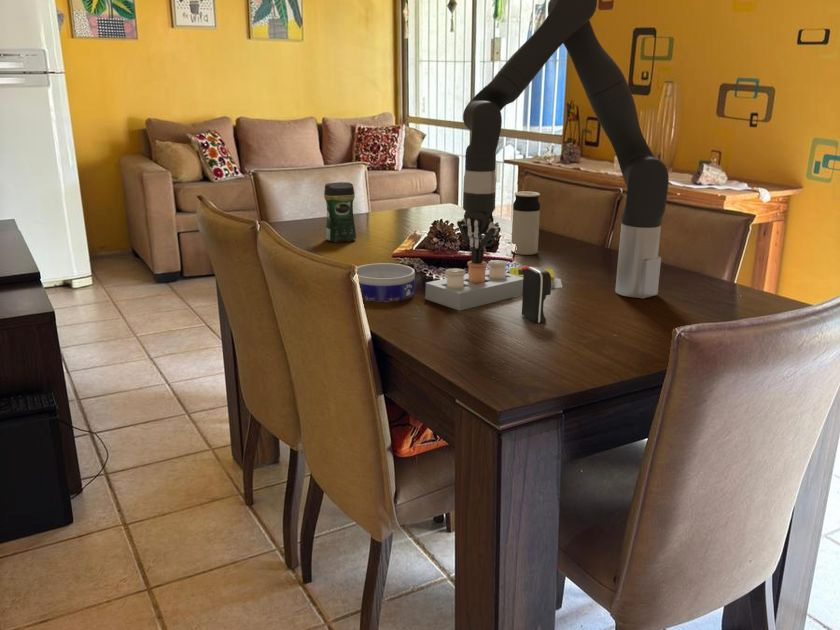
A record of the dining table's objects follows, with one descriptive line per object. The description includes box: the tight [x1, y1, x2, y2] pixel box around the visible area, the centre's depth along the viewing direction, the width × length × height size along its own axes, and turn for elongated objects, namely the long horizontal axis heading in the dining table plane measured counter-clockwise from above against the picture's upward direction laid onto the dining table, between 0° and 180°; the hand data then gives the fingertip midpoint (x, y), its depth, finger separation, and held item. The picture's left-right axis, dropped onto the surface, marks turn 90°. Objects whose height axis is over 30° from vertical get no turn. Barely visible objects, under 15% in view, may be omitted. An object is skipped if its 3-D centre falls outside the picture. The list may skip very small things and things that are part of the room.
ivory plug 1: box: [445, 268, 466, 289], centre depth 179 cm, size 5×5×7 cm
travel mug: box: [511, 190, 541, 256], centre depth 228 cm, size 8×8×18 cm
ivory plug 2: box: [487, 259, 508, 280], centre depth 187 cm, size 5×5×7 cm
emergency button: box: [508, 265, 563, 289], centre depth 197 cm, size 9×4×15 cm
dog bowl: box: [356, 262, 416, 303], centre depth 185 cm, size 15×15×6 cm
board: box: [424, 269, 523, 311], centre depth 183 cm, size 12×22×4 cm, turn 130°
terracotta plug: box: [467, 260, 488, 284], centre depth 183 cm, size 5×5×7 cm
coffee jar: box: [323, 181, 357, 243], centre depth 243 cm, size 10×8×19 cm
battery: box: [521, 266, 552, 324], centre depth 166 cm, size 7×4×11 cm, turn 21°
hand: (477, 262), depth 182 cm, fingers closed
